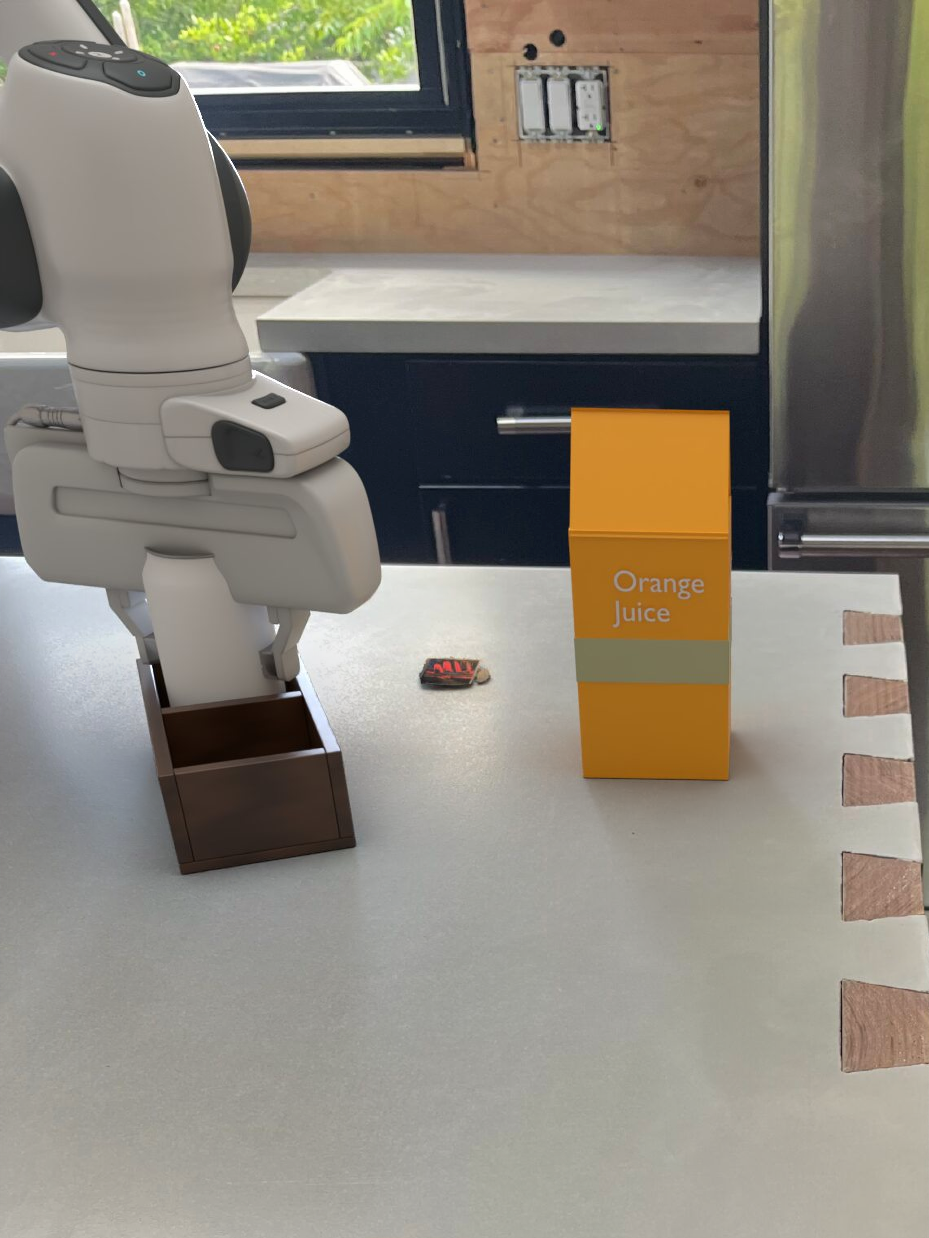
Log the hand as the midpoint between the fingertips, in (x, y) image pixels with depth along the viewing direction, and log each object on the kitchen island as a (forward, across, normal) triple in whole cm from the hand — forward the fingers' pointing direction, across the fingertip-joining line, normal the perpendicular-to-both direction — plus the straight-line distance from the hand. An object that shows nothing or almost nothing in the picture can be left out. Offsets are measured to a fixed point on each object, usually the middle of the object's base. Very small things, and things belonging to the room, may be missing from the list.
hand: (222, 670), depth 86 cm
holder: (+6, +3, -3) cm, 7 cm away
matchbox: (+6, +6, +17) cm, 19 cm away
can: (+5, 0, 0) cm, 5 cm away
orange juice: (+6, +24, +9) cm, 26 cm away
